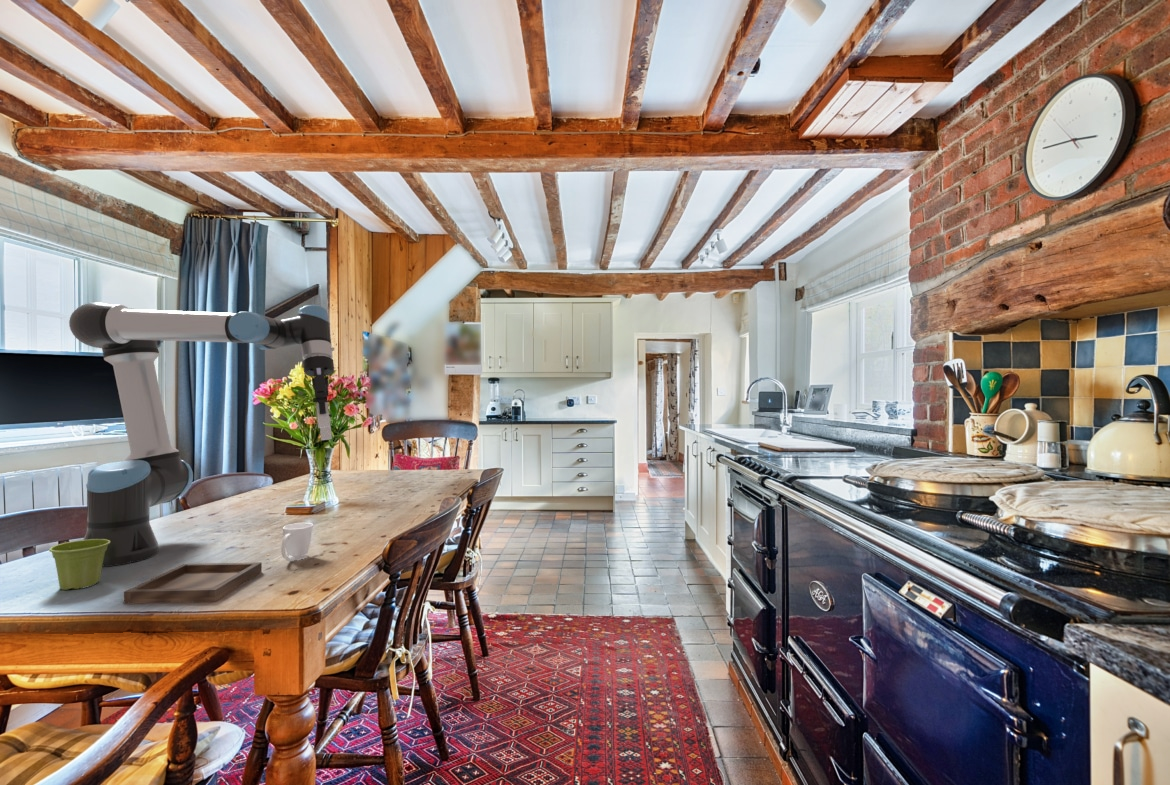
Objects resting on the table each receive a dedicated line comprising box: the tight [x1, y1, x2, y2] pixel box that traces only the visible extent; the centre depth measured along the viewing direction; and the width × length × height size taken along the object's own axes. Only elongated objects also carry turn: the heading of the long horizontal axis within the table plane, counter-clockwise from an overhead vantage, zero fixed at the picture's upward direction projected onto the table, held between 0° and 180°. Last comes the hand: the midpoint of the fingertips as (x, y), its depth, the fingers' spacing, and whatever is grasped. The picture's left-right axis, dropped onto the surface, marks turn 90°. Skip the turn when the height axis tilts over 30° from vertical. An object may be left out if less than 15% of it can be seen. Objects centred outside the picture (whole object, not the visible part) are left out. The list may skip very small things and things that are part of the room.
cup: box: [280, 522, 314, 562], centre depth 130 cm, size 7×10×8 cm
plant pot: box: [48, 539, 110, 591], centre depth 113 cm, size 9×9×9 cm
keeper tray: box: [123, 561, 263, 605], centre depth 112 cm, size 17×17×2 cm
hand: (325, 433), depth 141 cm, fingers open, 13 cm apart
